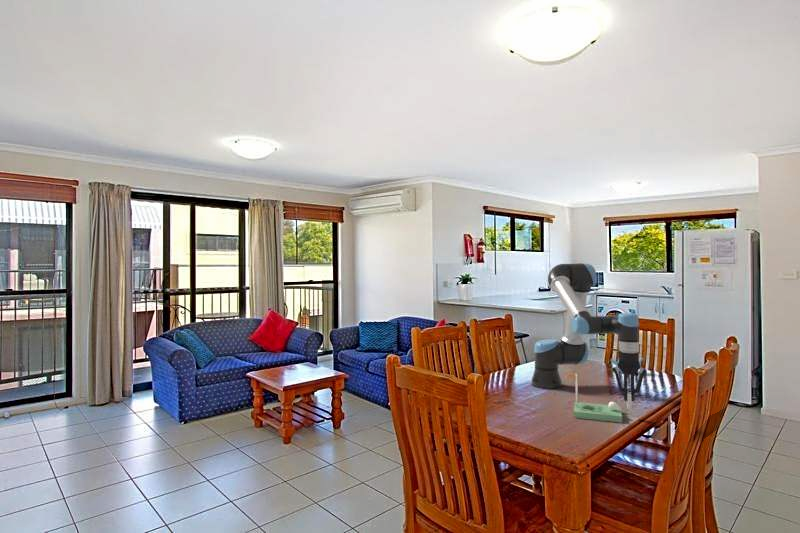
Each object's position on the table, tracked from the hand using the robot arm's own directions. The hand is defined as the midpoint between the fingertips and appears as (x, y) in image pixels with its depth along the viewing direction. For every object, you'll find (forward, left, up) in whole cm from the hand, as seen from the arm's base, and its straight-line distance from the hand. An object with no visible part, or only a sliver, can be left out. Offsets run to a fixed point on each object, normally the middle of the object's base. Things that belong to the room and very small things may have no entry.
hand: (629, 408), depth 190 cm
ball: (-6, 0, 0) cm, 6 cm away
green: (-13, 0, -4) cm, 14 cm away
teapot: (+5, +86, -4) cm, 86 cm away
